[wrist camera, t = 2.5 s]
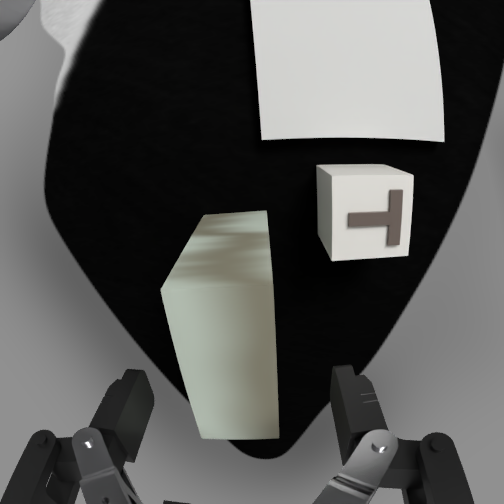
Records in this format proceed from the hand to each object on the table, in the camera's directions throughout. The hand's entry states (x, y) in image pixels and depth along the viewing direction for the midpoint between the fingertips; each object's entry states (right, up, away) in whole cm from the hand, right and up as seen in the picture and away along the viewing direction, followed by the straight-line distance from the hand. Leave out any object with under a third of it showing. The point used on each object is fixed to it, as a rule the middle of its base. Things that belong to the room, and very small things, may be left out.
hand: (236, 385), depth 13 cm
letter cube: (+7, +9, +7) cm, 14 cm away
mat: (+7, +21, +2) cm, 22 cm away
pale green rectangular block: (0, +4, +9) cm, 10 cm away
